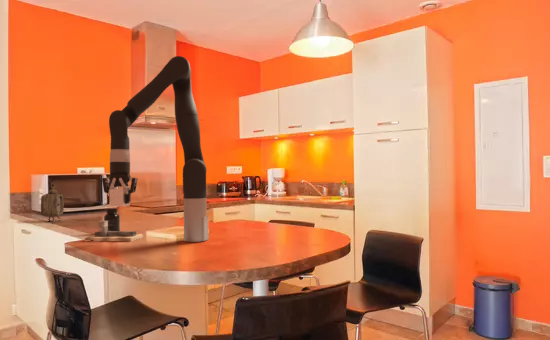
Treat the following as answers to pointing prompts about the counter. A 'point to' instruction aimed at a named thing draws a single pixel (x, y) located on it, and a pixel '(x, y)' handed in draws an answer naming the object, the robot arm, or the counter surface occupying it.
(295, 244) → the counter surface
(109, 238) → the ratchet board
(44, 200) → the tabletop clock
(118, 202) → the grey block
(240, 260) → the counter surface
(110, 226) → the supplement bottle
